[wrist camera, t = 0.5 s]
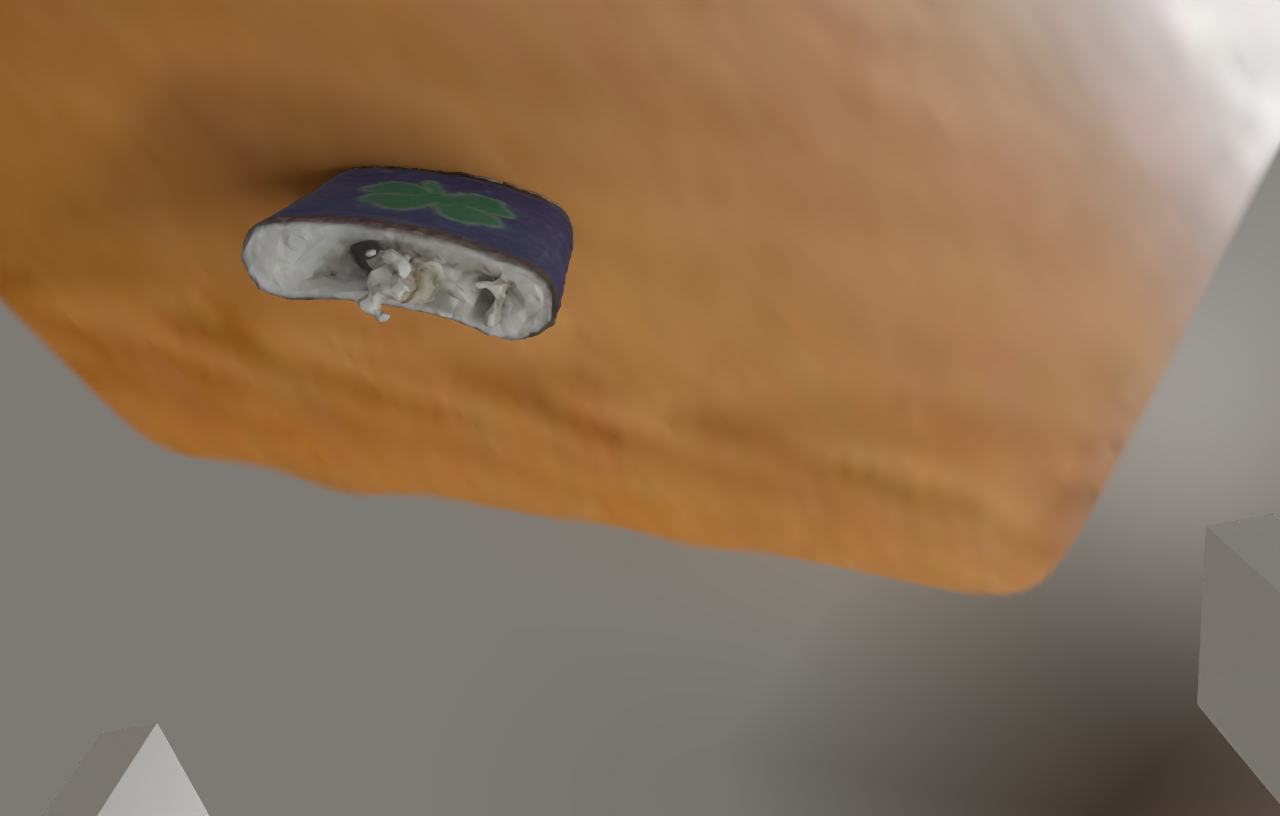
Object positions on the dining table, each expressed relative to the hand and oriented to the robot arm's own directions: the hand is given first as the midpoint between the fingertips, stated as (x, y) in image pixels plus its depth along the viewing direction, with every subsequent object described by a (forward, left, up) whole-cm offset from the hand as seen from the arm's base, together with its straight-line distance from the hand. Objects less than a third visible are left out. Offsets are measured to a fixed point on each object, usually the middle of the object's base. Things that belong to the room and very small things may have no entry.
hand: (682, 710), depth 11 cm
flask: (-5, -5, -26) cm, 26 cm away
